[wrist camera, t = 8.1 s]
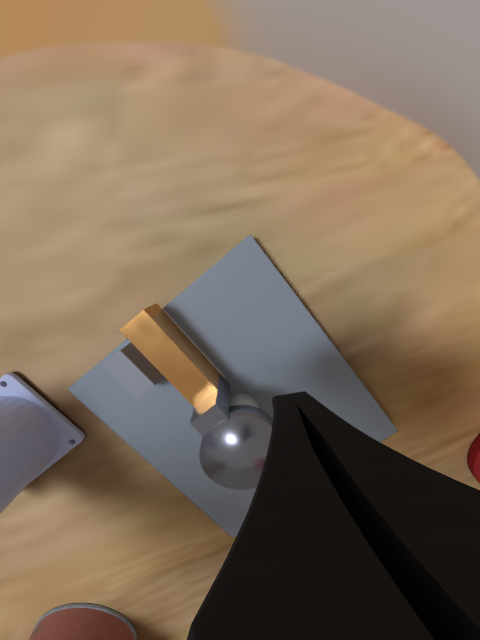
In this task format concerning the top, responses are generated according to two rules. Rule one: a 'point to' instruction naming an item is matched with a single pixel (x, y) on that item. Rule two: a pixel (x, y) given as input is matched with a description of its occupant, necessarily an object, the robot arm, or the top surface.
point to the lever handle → (205, 402)
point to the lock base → (227, 374)
